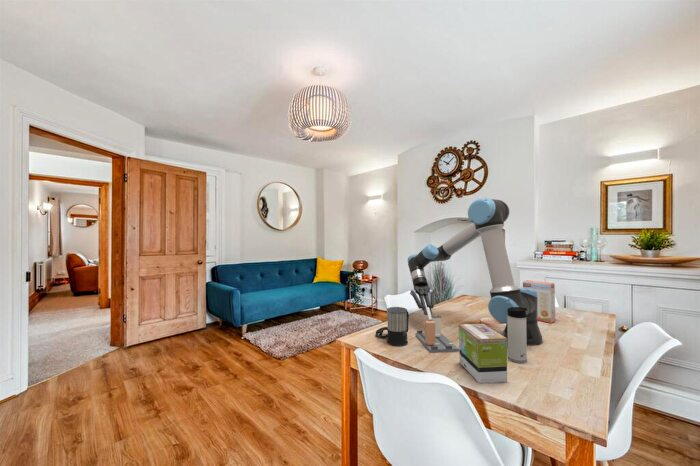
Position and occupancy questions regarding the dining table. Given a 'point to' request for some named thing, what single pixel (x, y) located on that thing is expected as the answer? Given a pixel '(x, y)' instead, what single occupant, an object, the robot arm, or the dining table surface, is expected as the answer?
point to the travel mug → (517, 334)
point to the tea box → (483, 353)
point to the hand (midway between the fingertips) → (430, 320)
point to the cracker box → (543, 299)
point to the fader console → (435, 340)
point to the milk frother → (396, 326)
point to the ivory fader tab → (437, 324)
